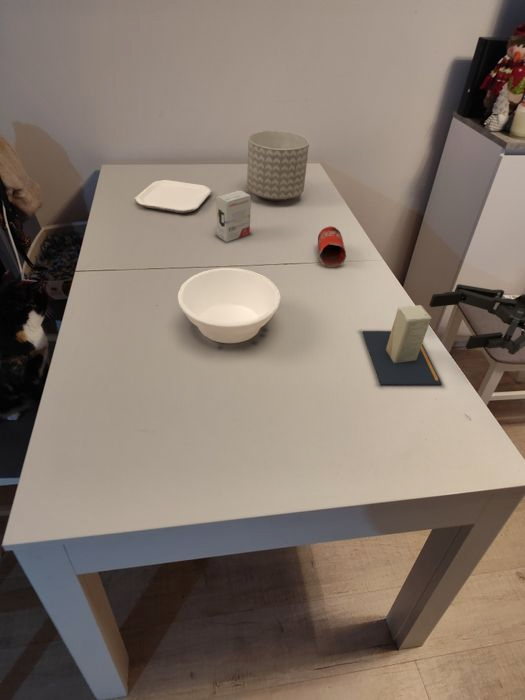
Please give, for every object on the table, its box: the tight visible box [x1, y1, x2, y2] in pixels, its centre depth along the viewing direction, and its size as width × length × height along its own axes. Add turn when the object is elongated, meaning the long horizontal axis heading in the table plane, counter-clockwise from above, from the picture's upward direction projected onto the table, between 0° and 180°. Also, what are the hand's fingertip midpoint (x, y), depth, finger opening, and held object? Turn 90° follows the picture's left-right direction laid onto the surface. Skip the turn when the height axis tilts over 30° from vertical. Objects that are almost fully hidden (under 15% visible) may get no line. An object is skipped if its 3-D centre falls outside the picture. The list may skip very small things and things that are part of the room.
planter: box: [246, 130, 310, 202], centre depth 145 cm, size 19×19×18 cm
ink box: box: [216, 189, 252, 243], centre depth 124 cm, size 9×5×12 cm, turn 130°
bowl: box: [177, 267, 282, 344], centre depth 94 cm, size 21×21×8 cm
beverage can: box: [317, 225, 347, 268], centre depth 119 cm, size 7×12×7 cm, turn 178°
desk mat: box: [362, 330, 443, 386], centre depth 91 cm, size 16×12×1 cm
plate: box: [134, 179, 213, 214], centre depth 143 cm, size 21×21×2 cm
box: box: [386, 304, 432, 363], centre depth 88 cm, size 5×4×11 cm
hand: (449, 320), depth 87 cm, fingers open, 13 cm apart
